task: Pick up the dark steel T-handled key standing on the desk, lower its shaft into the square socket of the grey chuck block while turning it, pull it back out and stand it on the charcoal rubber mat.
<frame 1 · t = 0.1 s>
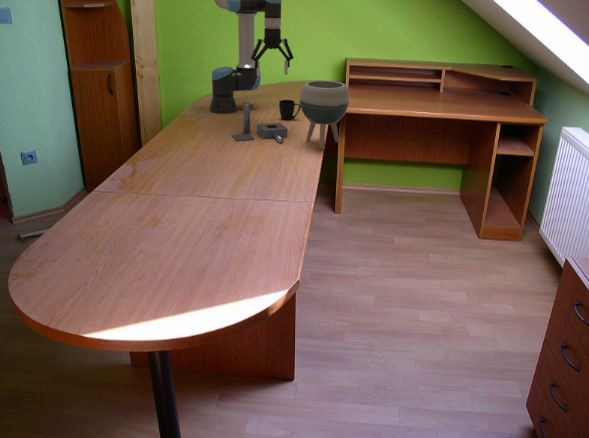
hand: (272, 75, 256), 28 cm above the table, fingers open, 13 cm apart
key: (246, 132, 266), on the table
chuck block: (271, 134, 265), on the table
mug: (289, 119, 292), on the table
planter: (322, 144, 253), on the table
mat: (243, 137, 258), on the table
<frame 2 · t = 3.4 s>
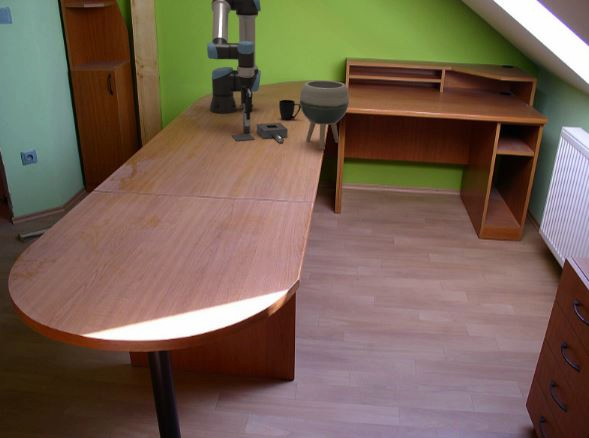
hand: (246, 124, 265), 4 cm above the table, fingers closed on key, 3 cm apart
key: (246, 132, 266), on the table, touching gripper
everything else where it was.
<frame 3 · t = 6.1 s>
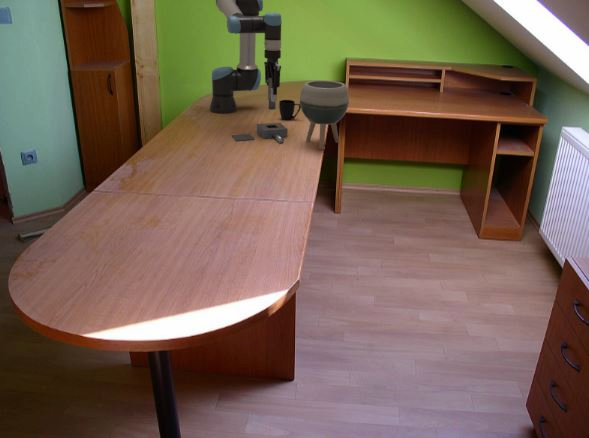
hand: (272, 100, 258), 17 cm above the table, fingers closed on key, 3 cm apart
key: (272, 108, 259), point 13 cm above the table, touching gripper
everything else where it was.
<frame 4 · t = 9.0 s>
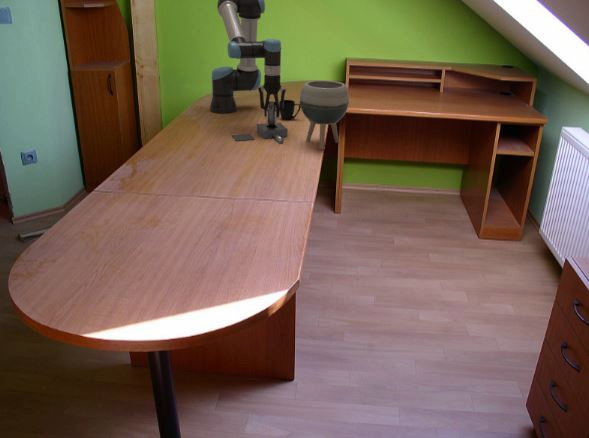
hand: (271, 123, 262), 6 cm above the table, fingers closed on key, 3 cm apart
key: (271, 131, 264), point 1 cm above the table, touching gripper
everything else where it was.
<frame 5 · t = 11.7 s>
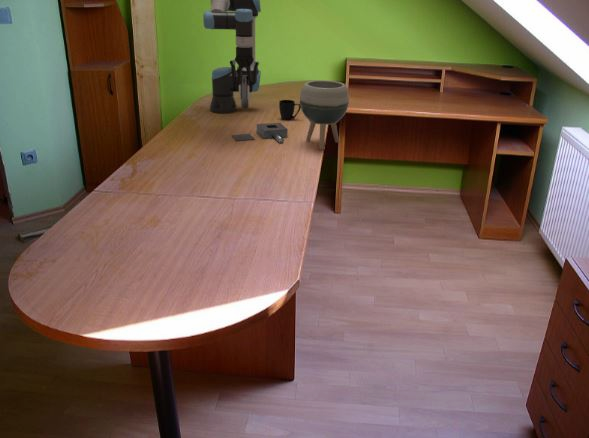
hand: (244, 98, 251), 19 cm above the table, fingers closed on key, 3 cm apart
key: (244, 107, 253), point 15 cm above the table, touching gripper
everything else where it was.
when the fingers open (6 cm above the table, at t = 14.5 s): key stays where it is, resting on mat.
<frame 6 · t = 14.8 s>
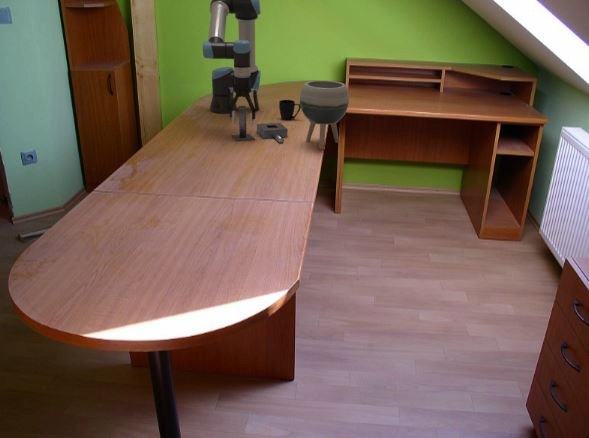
hand: (242, 125, 256), 6 cm above the table, fingers open, 8 cm apart
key: (242, 136, 258), point 1 cm above the table, touching mat
everything else where it was.
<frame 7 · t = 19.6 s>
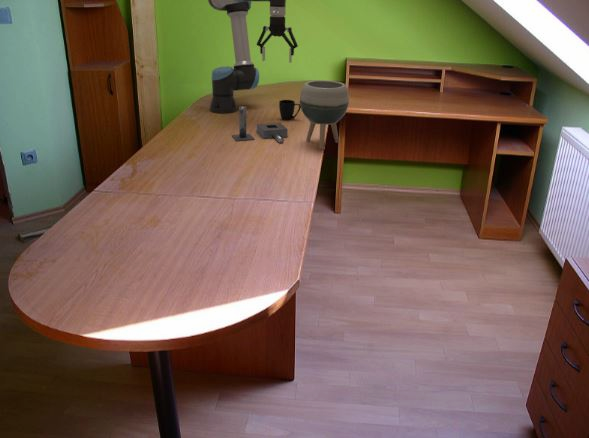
hand: (276, 61, 269), 32 cm above the table, fingers open, 13 cm apart
nothing on the table moved.
at the end: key inside the target area on the mat (0.0 cm from its centre), point 0.5 cm above the mat's base; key tilted 0°; the gripper is holding nothing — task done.
